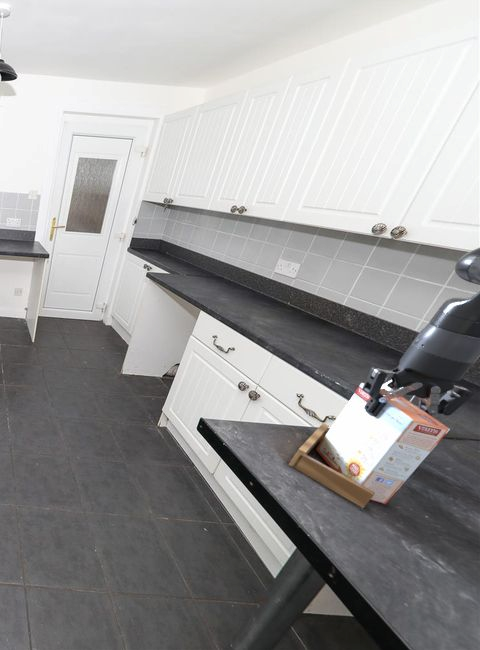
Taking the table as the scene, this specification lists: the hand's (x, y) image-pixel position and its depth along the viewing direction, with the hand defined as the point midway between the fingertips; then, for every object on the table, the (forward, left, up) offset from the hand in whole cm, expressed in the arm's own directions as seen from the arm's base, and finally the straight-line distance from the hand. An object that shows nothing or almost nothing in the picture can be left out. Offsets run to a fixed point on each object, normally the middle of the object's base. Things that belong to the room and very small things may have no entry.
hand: (390, 419), depth 70 cm
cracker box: (0, 0, -17) cm, 17 cm away
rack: (+2, -1, -17) cm, 17 cm away
